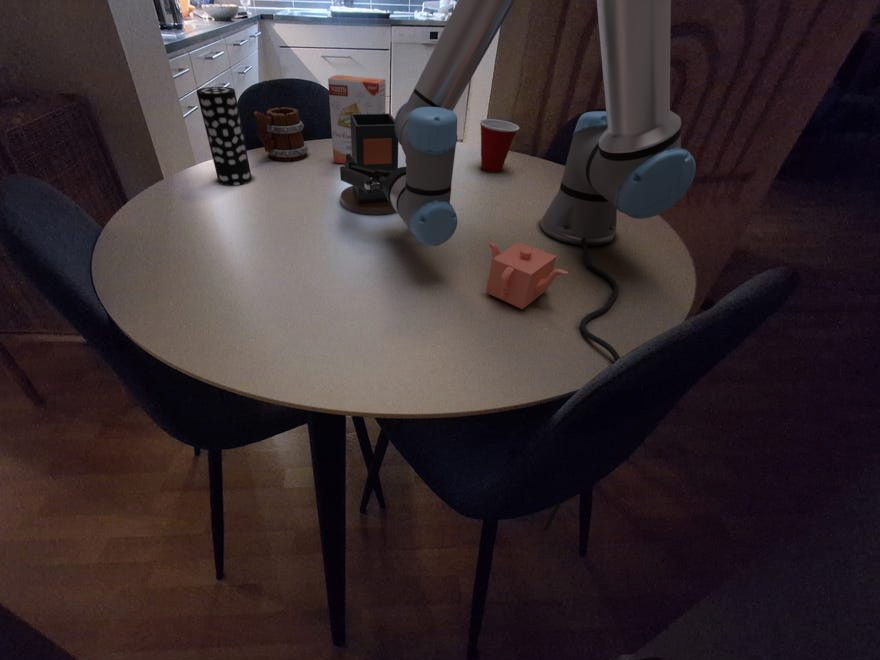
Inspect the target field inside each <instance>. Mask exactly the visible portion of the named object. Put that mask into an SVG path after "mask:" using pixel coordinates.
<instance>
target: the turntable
mask: <svg viewBox="0 0 880 660" xmlns="http://www.w3.org/2000/svg"><path fill="white" fill-rule="evenodd" d="M340 202H341V205H342V207H343V208H344V209H346V210H348V211H350V212H353V213H356V214H361V215H367V216H382V215H383V216H384V215H390V214H394V213H397V211H396V210H395V209H394V207H393V206H392V205H391V204H390V202H375V203H358V200H357V197H356V194H355V191H354V188H353V185H350V186H348V187H346V188H344V189H343V190H342V191H341V193H340Z"/></svg>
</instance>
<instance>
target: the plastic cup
mask: <svg viewBox="0 0 880 660" xmlns="http://www.w3.org/2000/svg"><path fill="white" fill-rule="evenodd" d="M479 125H480V126H479V127H480V157H481V158H480V159H481V161H480V164H481V165H480V167H481V170H482V171H484V172H486V173H487V172H488V173H499V172H502V170H503V168H504V164H505V161H506V159H507V157H508V154H509V151H510V148H511V145H512V142H513V140H514V139H515V136H516V134H517V133H518V131H519V130H520V126H519V125H517V124H516V123H513V122H510V121H506V120H503V119H494V118H482V119H480V120H479Z"/></svg>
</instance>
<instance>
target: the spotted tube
mask: <svg viewBox="0 0 880 660" xmlns="http://www.w3.org/2000/svg"><path fill="white" fill-rule="evenodd" d="M195 92H196V97H197V100H198V103H199V107H200V113H201V116H202V120H203V123H204V129H205V132H206V136H207V141H208V144H209V148H210V152H211V157H212V161H213V165H214V168H215V172H216V177H217V181H218V184H221V185H224V186H241V185H245V184H247V183H249V182H251V181H252V179H253V177H252V173H251V166H250V161H249V157H248V151H247V147H246V141H245V136H244V130H243V125H242V121H241V116H240V111H239V105H238V99H237V94H236V89H235V88H233V87H229V86H208V87H201V88H198V89H197V90H196V91H195Z"/></svg>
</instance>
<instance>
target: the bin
mask: <svg viewBox="0 0 880 660" xmlns="http://www.w3.org/2000/svg"><path fill="white" fill-rule="evenodd" d="M394 122H395V118H394V116H393V115H392V114H391V113H385V114H350V124H351V147H352V158H353V160H354V161H355V162H356V166H359V167H363V168H367V169H371V170H375V171H376V170H378V169H382V170H386V171H390V170H391V171H394V170H395V169H397V168H399V141H398V140H397V137H396V134H395V126H394ZM382 176H383V175H381V177H382ZM352 186H353V185H352ZM353 188H354V191H355V194H356V197H357V200H358V203H375V202H389V201H388V200H387V198H386V196H385V194H384V192H383V191H381V190H379V189H373V190H372V193H371V194H367V193H366V192H365V191H364V190H362V189H360V188H358V187H355V186H353Z"/></svg>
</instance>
